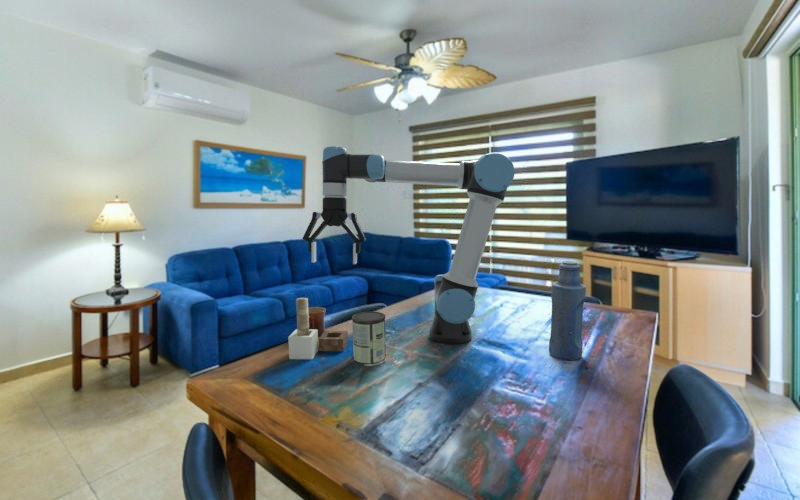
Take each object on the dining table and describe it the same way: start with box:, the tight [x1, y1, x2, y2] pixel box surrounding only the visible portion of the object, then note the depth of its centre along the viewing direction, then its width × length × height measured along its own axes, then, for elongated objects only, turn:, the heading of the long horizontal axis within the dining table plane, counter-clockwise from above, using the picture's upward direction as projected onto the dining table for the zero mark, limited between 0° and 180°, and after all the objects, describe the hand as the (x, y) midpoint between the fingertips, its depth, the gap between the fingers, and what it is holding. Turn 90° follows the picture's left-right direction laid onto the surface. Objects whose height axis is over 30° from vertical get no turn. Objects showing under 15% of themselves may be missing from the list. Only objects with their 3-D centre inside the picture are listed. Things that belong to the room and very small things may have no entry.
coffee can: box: [351, 311, 387, 367], centre depth 117 cm, size 10×10×14 cm
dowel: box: [295, 297, 309, 336], centre depth 118 cm, size 4×4×18 cm
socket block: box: [318, 330, 349, 352], centre depth 126 cm, size 8×8×5 cm
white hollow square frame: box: [287, 328, 319, 360], centre depth 119 cm, size 7×7×8 cm
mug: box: [308, 306, 327, 338], centre depth 136 cm, size 12×9×10 cm
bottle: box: [548, 260, 587, 361], centre depth 118 cm, size 10×10×30 cm
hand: (334, 262), depth 123 cm, fingers open, 13 cm apart
